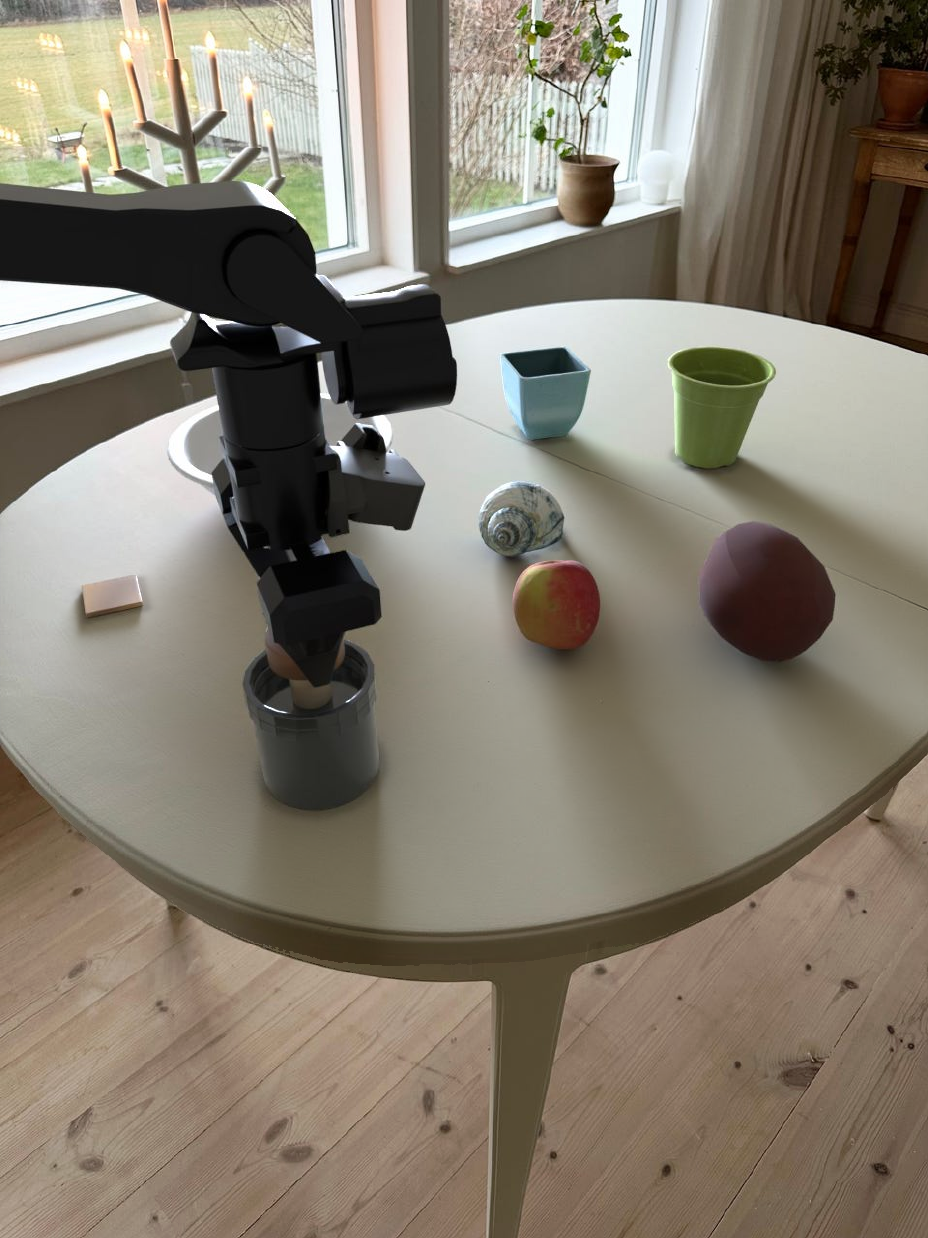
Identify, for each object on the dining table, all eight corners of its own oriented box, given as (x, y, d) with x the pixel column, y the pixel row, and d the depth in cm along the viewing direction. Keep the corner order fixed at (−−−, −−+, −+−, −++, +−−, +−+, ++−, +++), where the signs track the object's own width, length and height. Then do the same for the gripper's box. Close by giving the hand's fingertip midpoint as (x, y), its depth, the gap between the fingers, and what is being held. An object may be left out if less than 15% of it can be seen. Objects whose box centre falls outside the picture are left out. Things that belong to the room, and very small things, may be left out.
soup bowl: (299, 572, 90) (292, 513, 86) (131, 506, 100) (117, 451, 97) (437, 474, 106) (435, 421, 102) (279, 427, 117) (273, 376, 113)
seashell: (573, 544, 97) (488, 585, 90) (530, 494, 99) (444, 531, 93) (597, 505, 92) (509, 546, 85) (551, 454, 94) (462, 489, 88)
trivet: (86, 618, 84) (85, 613, 84) (82, 589, 88) (81, 584, 87) (143, 605, 86) (142, 601, 85) (136, 578, 89) (135, 573, 89)
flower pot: (497, 420, 118) (498, 352, 113) (562, 412, 120) (566, 345, 115) (518, 450, 111) (520, 378, 106) (586, 441, 113) (592, 370, 108)
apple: (608, 625, 83) (617, 550, 78) (581, 679, 77) (588, 601, 72) (529, 606, 85) (533, 531, 81) (496, 656, 79) (498, 579, 75)
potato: (712, 695, 75) (734, 591, 69) (672, 602, 86) (687, 504, 80) (844, 689, 76) (878, 585, 70) (788, 597, 86) (813, 499, 80)
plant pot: (666, 480, 105) (679, 386, 98) (647, 435, 115) (659, 346, 108) (769, 479, 105) (790, 385, 98) (742, 434, 115) (759, 345, 108)
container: (276, 827, 64) (258, 733, 59) (249, 743, 71) (231, 652, 66) (398, 790, 67) (392, 697, 62) (361, 713, 74) (352, 623, 68)
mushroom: (284, 729, 62) (274, 665, 59) (267, 683, 66) (256, 620, 63) (358, 709, 64) (352, 645, 60) (337, 665, 68) (330, 603, 64)
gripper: (466, 473, 48) (467, 698, 57) (360, 353, 62) (374, 550, 71) (255, 515, 45) (292, 746, 54) (192, 378, 59) (230, 581, 68)
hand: (303, 643), depth 62 cm, fingers open, 9 cm apart
